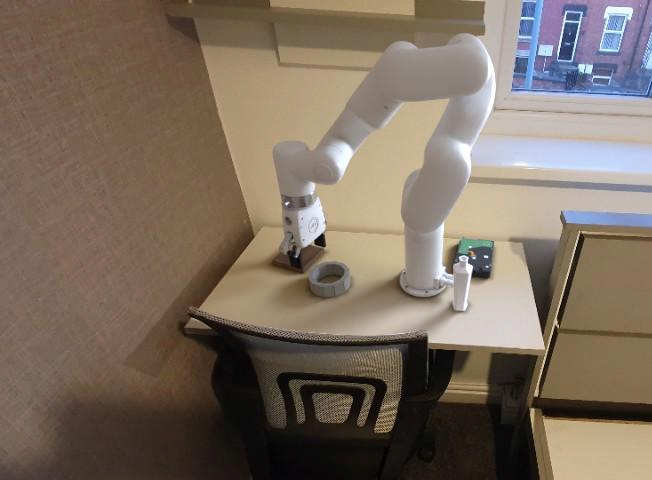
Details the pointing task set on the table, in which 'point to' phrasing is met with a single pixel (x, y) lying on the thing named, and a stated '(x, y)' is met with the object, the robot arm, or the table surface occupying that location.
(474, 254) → the disk drive
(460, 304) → the perfume bottle
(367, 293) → the table surface
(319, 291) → the tape roll
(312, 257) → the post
